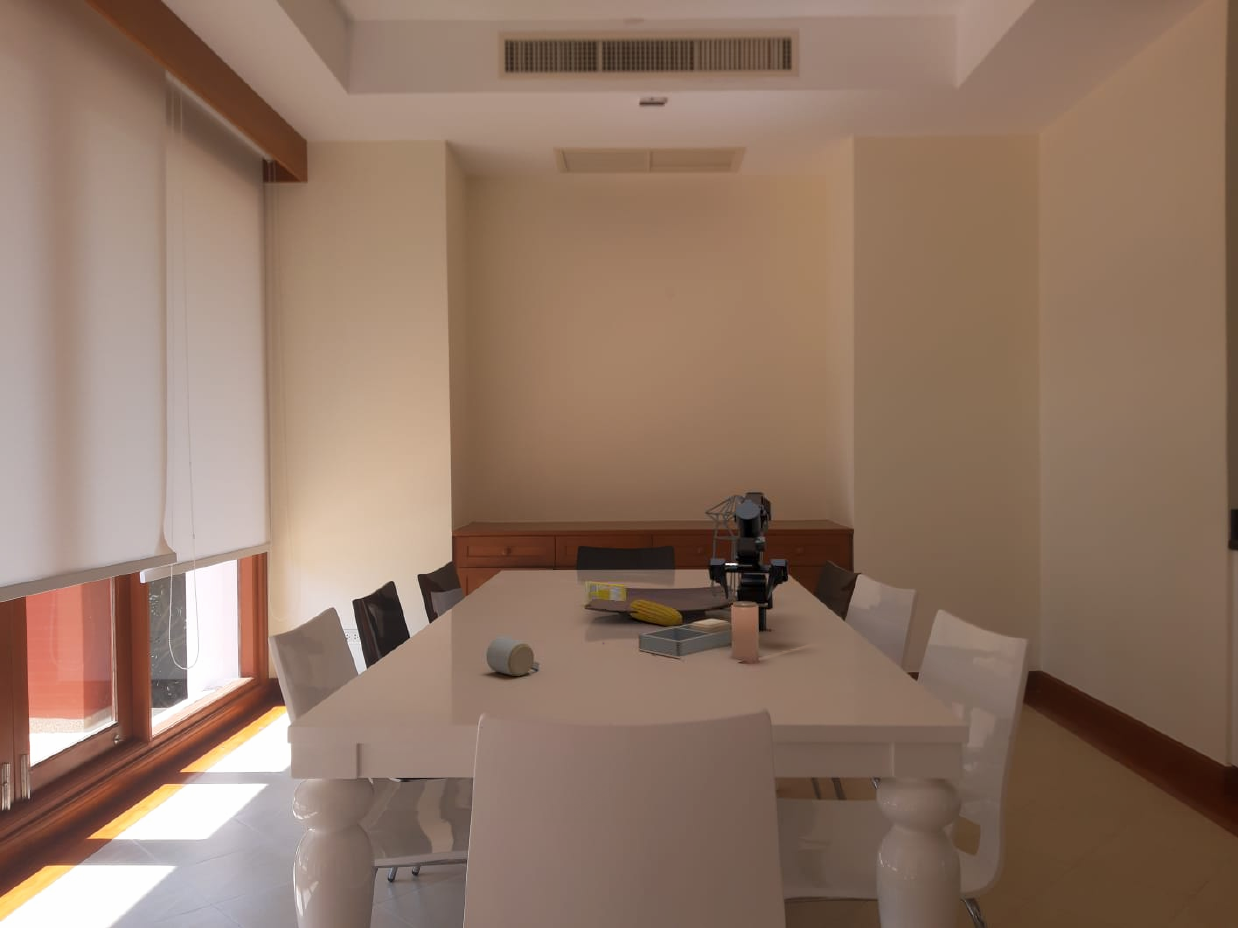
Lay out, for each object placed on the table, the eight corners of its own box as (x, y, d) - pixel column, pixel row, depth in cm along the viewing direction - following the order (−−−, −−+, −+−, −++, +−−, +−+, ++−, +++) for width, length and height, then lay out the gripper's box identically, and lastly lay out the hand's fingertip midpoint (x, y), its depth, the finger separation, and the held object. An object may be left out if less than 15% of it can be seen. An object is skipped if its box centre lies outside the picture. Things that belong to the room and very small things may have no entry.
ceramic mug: (509, 680, 179) (510, 643, 179) (485, 673, 185) (485, 637, 185) (548, 671, 187) (548, 636, 187) (523, 666, 192) (523, 631, 192)
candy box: (626, 612, 260) (626, 585, 260) (622, 613, 259) (621, 585, 259) (589, 606, 271) (588, 580, 271) (584, 607, 270) (584, 581, 270)
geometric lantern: (701, 608, 265) (700, 494, 266) (734, 603, 276) (733, 494, 277) (741, 614, 253) (740, 494, 254) (774, 608, 264) (773, 494, 265)
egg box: (711, 635, 218) (711, 618, 218) (730, 639, 214) (730, 621, 214) (690, 640, 213) (690, 622, 213) (709, 644, 208) (708, 625, 208)
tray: (707, 635, 222) (707, 620, 222) (747, 642, 213) (747, 626, 213) (638, 651, 205) (638, 634, 205) (679, 659, 196) (678, 641, 196)
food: (626, 619, 248) (625, 599, 248) (641, 617, 251) (640, 597, 251) (674, 630, 231) (674, 608, 231) (690, 627, 235) (689, 605, 235)
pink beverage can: (743, 656, 198) (742, 599, 198) (764, 660, 194) (763, 602, 194) (726, 660, 194) (725, 603, 194) (747, 664, 190) (747, 606, 190)
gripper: (708, 524, 208) (703, 576, 197) (787, 525, 204) (786, 577, 193) (712, 554, 215) (707, 605, 205) (788, 555, 211) (788, 607, 201)
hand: (746, 598), depth 201 cm, fingers open, 9 cm apart
